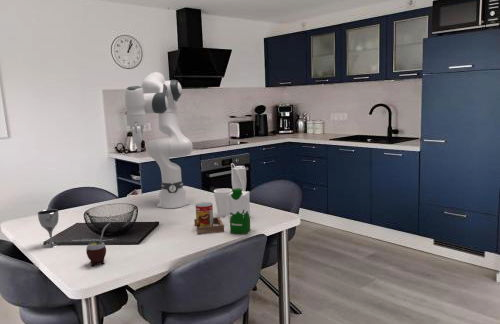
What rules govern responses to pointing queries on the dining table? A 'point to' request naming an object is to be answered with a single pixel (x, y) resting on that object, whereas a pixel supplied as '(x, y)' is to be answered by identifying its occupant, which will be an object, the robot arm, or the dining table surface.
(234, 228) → the milk carton
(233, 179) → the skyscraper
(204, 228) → the wooden tray
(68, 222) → the dining table surface
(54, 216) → the wine glass
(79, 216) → the dining table surface
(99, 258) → the mate gourd
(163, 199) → the robot arm
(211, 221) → the canned food
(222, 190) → the foam cup
